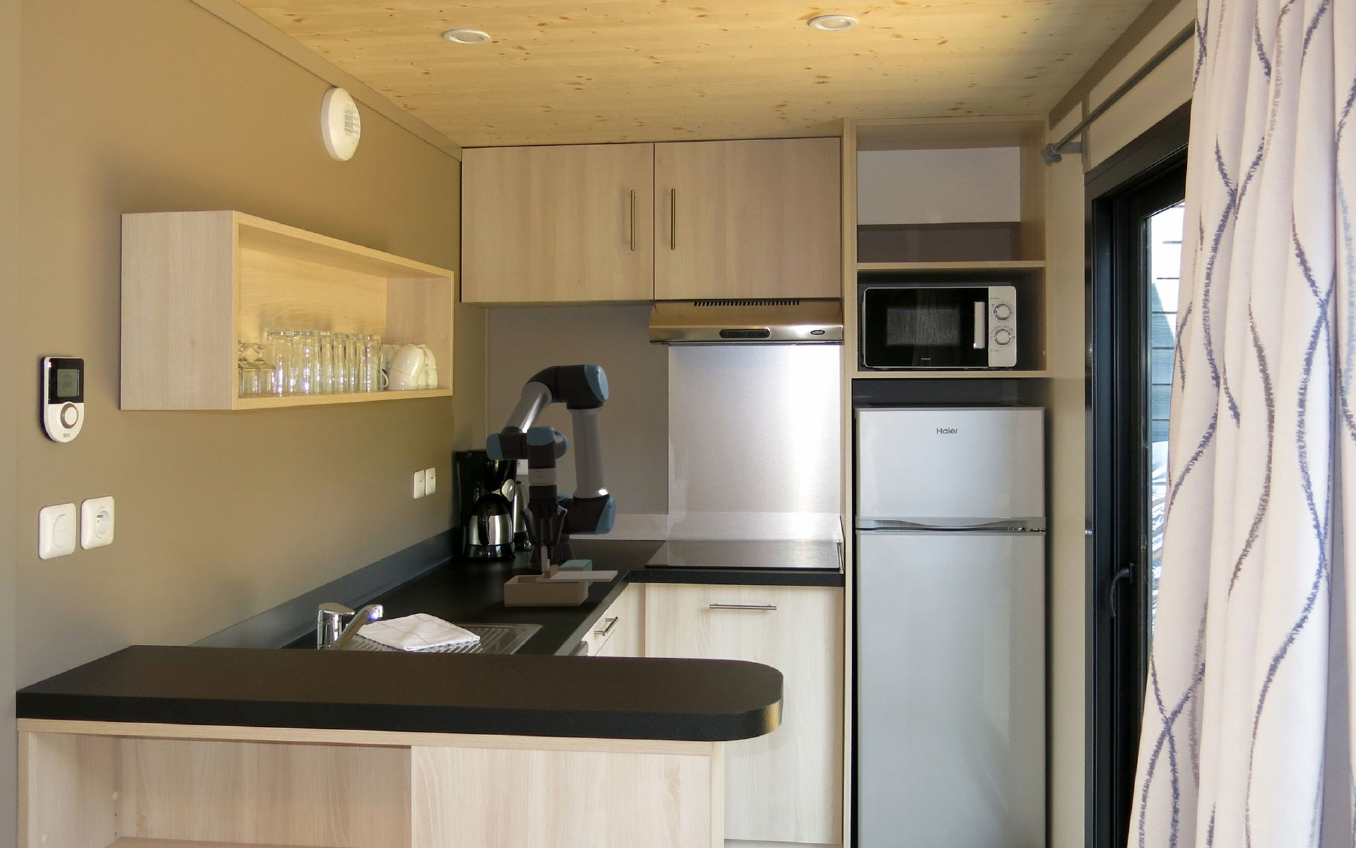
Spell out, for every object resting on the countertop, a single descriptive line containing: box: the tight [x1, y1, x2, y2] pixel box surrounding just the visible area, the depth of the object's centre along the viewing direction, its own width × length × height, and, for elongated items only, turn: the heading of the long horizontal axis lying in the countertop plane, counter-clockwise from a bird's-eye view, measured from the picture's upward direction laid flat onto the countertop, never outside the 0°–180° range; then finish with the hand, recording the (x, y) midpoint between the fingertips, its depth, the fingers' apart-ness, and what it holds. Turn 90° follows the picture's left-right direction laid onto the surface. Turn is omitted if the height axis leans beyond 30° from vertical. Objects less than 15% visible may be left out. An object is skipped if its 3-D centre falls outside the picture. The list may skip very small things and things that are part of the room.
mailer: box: [503, 574, 589, 608], centre depth 274 cm, size 12×20×6 cm, turn 83°
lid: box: [535, 565, 619, 583], centre depth 273 cm, size 11×20×3 cm, turn 83°
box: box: [558, 559, 594, 588], centre depth 291 cm, size 7×14×8 cm, turn 173°
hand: (545, 571), depth 274 cm, fingers closed
